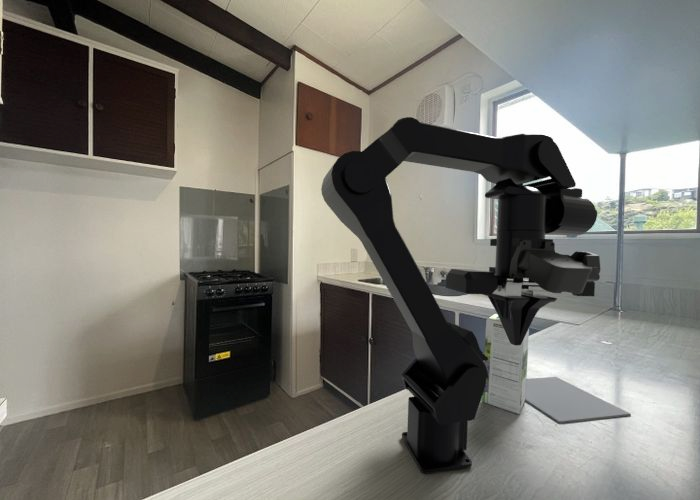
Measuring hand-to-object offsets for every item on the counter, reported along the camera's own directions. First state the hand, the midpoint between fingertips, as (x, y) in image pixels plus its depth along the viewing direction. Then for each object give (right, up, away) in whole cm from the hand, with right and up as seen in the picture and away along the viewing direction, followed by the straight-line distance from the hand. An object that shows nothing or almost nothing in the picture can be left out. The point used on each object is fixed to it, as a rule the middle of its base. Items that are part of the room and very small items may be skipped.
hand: (515, 344), depth 38 cm
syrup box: (+4, -13, +9) cm, 17 cm away
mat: (+14, -13, +11) cm, 23 cm away
